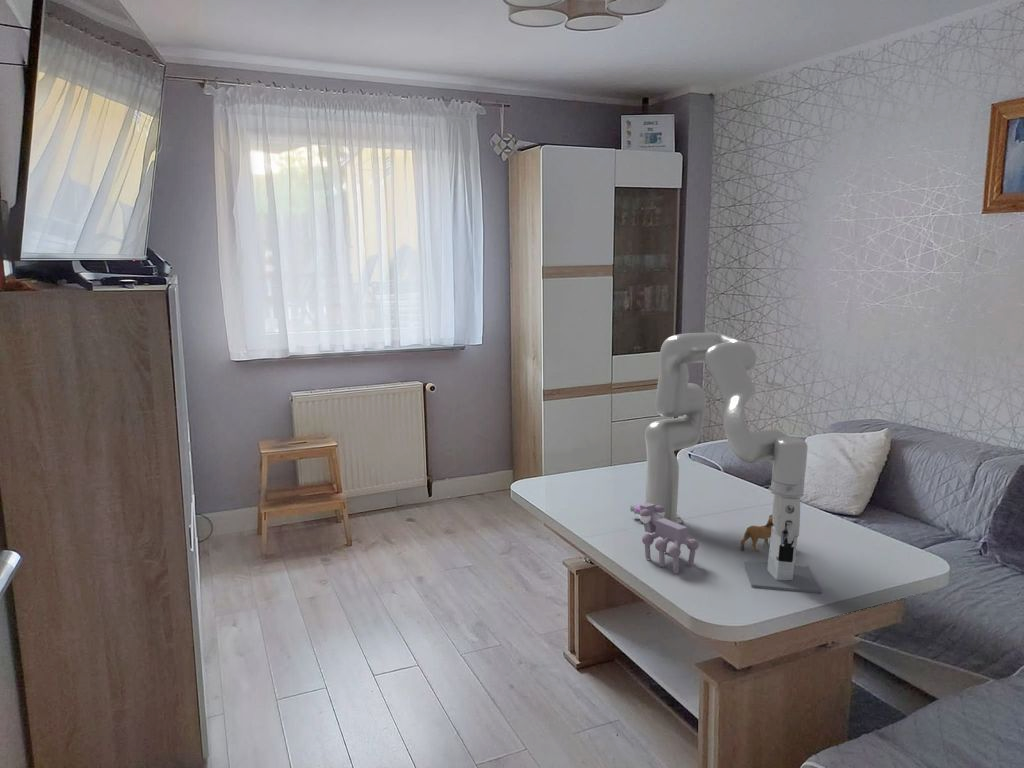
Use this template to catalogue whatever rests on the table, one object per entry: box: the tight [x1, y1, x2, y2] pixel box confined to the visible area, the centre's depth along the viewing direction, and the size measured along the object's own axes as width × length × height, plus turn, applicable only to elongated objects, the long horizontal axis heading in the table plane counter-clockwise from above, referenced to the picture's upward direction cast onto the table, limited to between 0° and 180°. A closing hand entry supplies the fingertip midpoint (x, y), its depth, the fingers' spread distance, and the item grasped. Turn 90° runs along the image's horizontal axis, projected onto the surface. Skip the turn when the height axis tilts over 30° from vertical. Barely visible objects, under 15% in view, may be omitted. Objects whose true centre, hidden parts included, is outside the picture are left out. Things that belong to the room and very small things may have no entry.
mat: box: [743, 560, 822, 594], centre depth 174 cm, size 16×14×1 cm
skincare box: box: [767, 526, 799, 580], centre depth 173 cm, size 6×4×12 cm
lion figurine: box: [739, 514, 773, 553], centre depth 192 cm, size 15×5×9 cm, turn 119°
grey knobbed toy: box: [634, 503, 699, 574], centre depth 185 cm, size 20×11×14 cm, turn 35°
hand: (781, 552), depth 174 cm, fingers open, 9 cm apart
